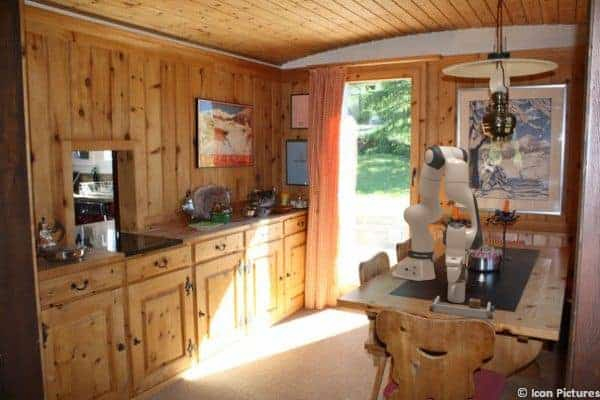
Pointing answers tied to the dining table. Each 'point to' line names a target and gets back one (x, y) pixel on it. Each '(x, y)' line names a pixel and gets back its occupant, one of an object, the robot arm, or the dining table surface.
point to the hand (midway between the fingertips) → (454, 288)
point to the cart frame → (461, 310)
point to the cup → (456, 291)
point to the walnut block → (474, 303)
